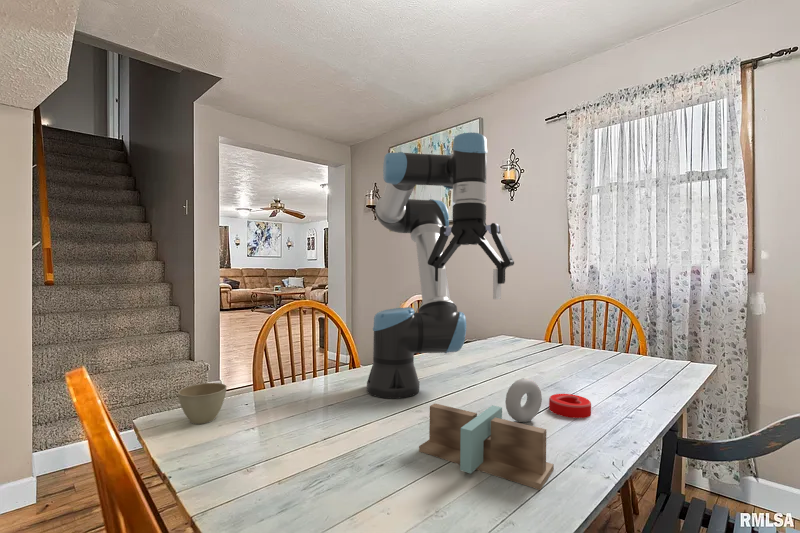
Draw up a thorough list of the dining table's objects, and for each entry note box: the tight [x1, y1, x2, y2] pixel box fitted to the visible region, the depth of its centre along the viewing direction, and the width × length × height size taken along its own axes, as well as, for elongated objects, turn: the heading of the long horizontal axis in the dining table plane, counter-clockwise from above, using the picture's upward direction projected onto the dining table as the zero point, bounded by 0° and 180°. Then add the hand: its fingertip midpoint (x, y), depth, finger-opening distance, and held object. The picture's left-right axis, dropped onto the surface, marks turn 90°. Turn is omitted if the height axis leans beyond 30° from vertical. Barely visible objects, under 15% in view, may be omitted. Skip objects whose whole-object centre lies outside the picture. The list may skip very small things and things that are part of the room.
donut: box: [505, 377, 543, 423], centre depth 94 cm, size 10×4×10 cm, turn 118°
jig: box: [418, 403, 555, 491], centre depth 75 cm, size 23×8×8 cm, turn 55°
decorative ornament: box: [548, 393, 592, 419], centre depth 101 cm, size 10×10×3 cm
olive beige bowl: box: [177, 382, 227, 425], centre depth 93 cm, size 10×10×7 cm
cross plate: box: [459, 404, 503, 474], centre depth 74 cm, size 14×2×7 cm, turn 145°
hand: (468, 297), depth 92 cm, fingers open, 13 cm apart
